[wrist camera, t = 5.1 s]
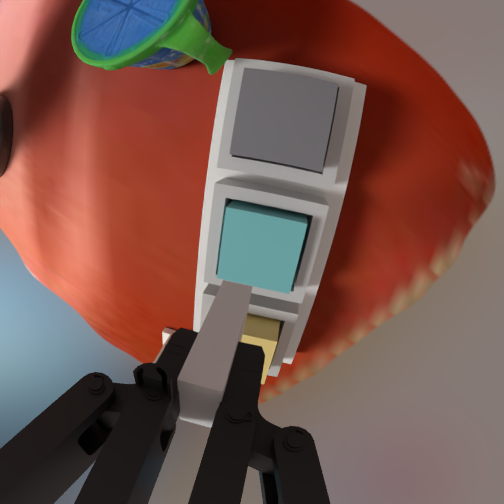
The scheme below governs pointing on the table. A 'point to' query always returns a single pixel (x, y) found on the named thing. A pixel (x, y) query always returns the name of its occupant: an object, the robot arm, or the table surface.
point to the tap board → (277, 202)
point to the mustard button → (262, 337)
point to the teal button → (261, 245)
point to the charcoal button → (283, 118)
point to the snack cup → (146, 34)
